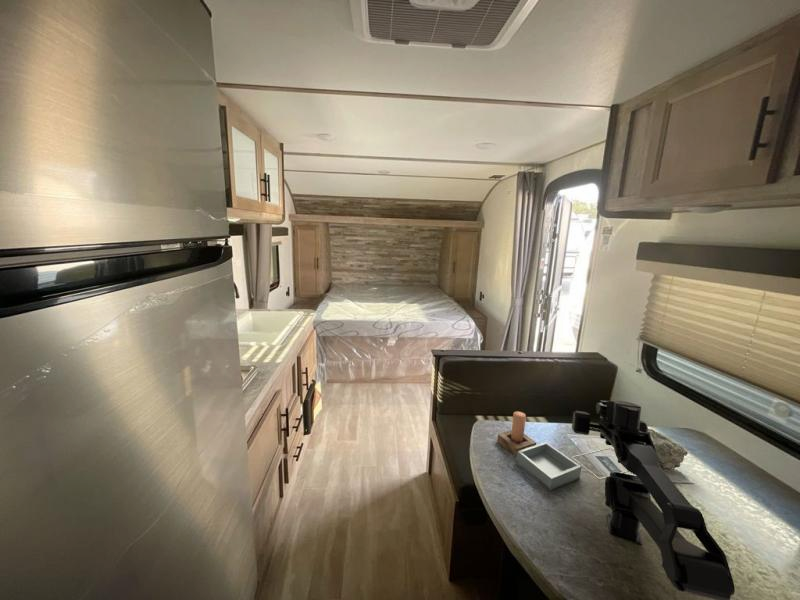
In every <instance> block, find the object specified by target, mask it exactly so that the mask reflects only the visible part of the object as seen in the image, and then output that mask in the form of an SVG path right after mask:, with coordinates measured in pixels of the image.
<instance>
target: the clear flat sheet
mask: <svg viewBox="0 0 800 600" xmlns="http://www.w3.org/2000/svg"><path fill="white" fill-rule="evenodd" d="M606 450H612V451H613V452H615V450H614V448H612V447H607V448H606V447H605V448H602V449H599V450H594V451H589V452H586V453H585V452H584V453H582V454H577V455H574V456H571V459H572V460H573V461H574V462H576V463H577V464H579V465H580V466H581V467H583V468H584V469H585V470H587V471H588V472H590V474H592V475H594V476H595V477H596V478H597V479H598V480H603V479H606V477H607V476H609V477H610V475H607V476H603V477H599V476H597V475H596V474H595V473H594V472H592V471H591V470H590V469H589V468H587V466H585V465H584V464H582V462H579V461H578V460H577V459H575V458H576V457H580V456H584V455H589V454H593V453H597V451H598V452H602V451H606ZM592 452H593V453H592ZM588 453H589V454H588ZM619 473H623V474H626V473H629V471H628V470H627V469H626V470H625V471H622V472H619Z"/></svg>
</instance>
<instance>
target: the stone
mask: <svg viewBox="0 0 800 600" xmlns="http://www.w3.org/2000/svg"><path fill="white" fill-rule="evenodd" d="M647 433H649V434H650V437H651V440H652V442H653V445H654V447H655V450H656V453H657V455H658V456H659V458H660V460H659V466H660V468H664V469H668V470H671V469H675V468H676V469H677V468H680V467H681V463H683V462H684V459H685V457H687V455H688V454H689V452H688V450H686V449H685V447H684V446H682V445H680V444H678V443H677V442H675V441H674V440H673V439H672V438H670V437H669V436H668V435H665V434H663V433H661V432H658V431H655V430H654V429H652V428H648V431H647ZM644 444H645V443H644Z"/></svg>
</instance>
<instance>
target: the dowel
mask: <svg viewBox="0 0 800 600" xmlns="http://www.w3.org/2000/svg"><path fill="white" fill-rule="evenodd" d="M526 417H527V415H526V413H524V412H522V411H514V412H513V415H512V425H511V430H512V432H511V440H512V441H514V442H515V443H516V444H519V443H522V442H523V436H524V434H525V426H526Z"/></svg>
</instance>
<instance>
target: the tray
mask: <svg viewBox="0 0 800 600" xmlns="http://www.w3.org/2000/svg"><path fill="white" fill-rule="evenodd" d="M515 461H516V463H517V465H519V466H520V467H521V468H522V469H524V470H525V471H526V472H527V473H528V474H529V475H530V476H532V477H533V478H534V479H535V480H536V481H537V482H539V483H540V484H541V485H542V486H544V487H545V488H546V489H547V490H548V491H552V490H555V489H557V487H558V488H560V487H562V486H564V484H565V485H567V484H569V483H572V482H574V481H576V480H579V479H580V478H581V472H582V465H581V464H579V463H578V462H577V461H575V460H574V459H572V458H570V457H569V456H567V455H566V454H564V453H563V452H561V450H558V449H557V448H556V447H554V446H553V445H551V444H550V443H548V442H547V441H545V442H542V443H538V444H536V445H535V446H532V447H529V448H526V449H523V450H520V451H517V457H516V460H515ZM571 481H572V482H571ZM566 483H567V484H566Z"/></svg>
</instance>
